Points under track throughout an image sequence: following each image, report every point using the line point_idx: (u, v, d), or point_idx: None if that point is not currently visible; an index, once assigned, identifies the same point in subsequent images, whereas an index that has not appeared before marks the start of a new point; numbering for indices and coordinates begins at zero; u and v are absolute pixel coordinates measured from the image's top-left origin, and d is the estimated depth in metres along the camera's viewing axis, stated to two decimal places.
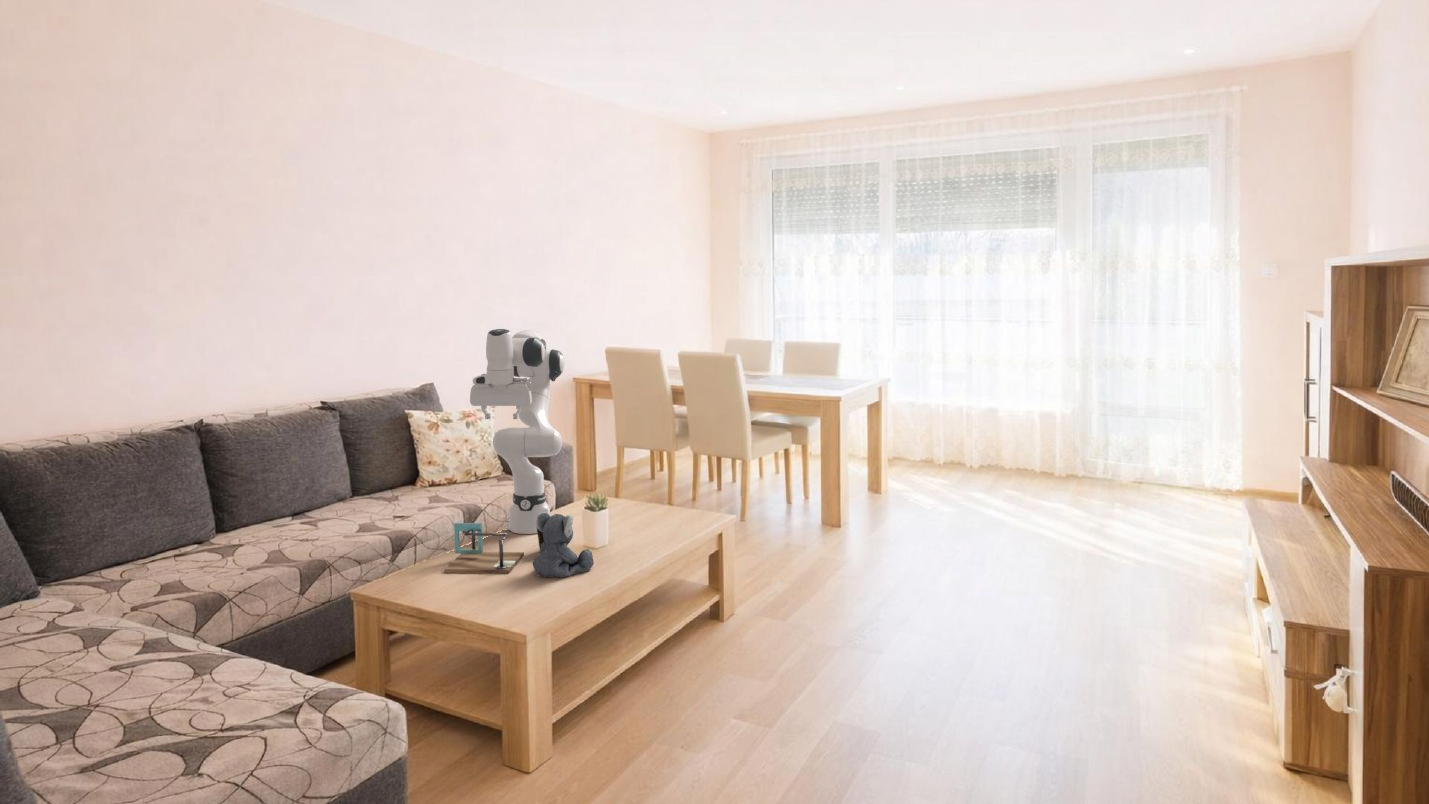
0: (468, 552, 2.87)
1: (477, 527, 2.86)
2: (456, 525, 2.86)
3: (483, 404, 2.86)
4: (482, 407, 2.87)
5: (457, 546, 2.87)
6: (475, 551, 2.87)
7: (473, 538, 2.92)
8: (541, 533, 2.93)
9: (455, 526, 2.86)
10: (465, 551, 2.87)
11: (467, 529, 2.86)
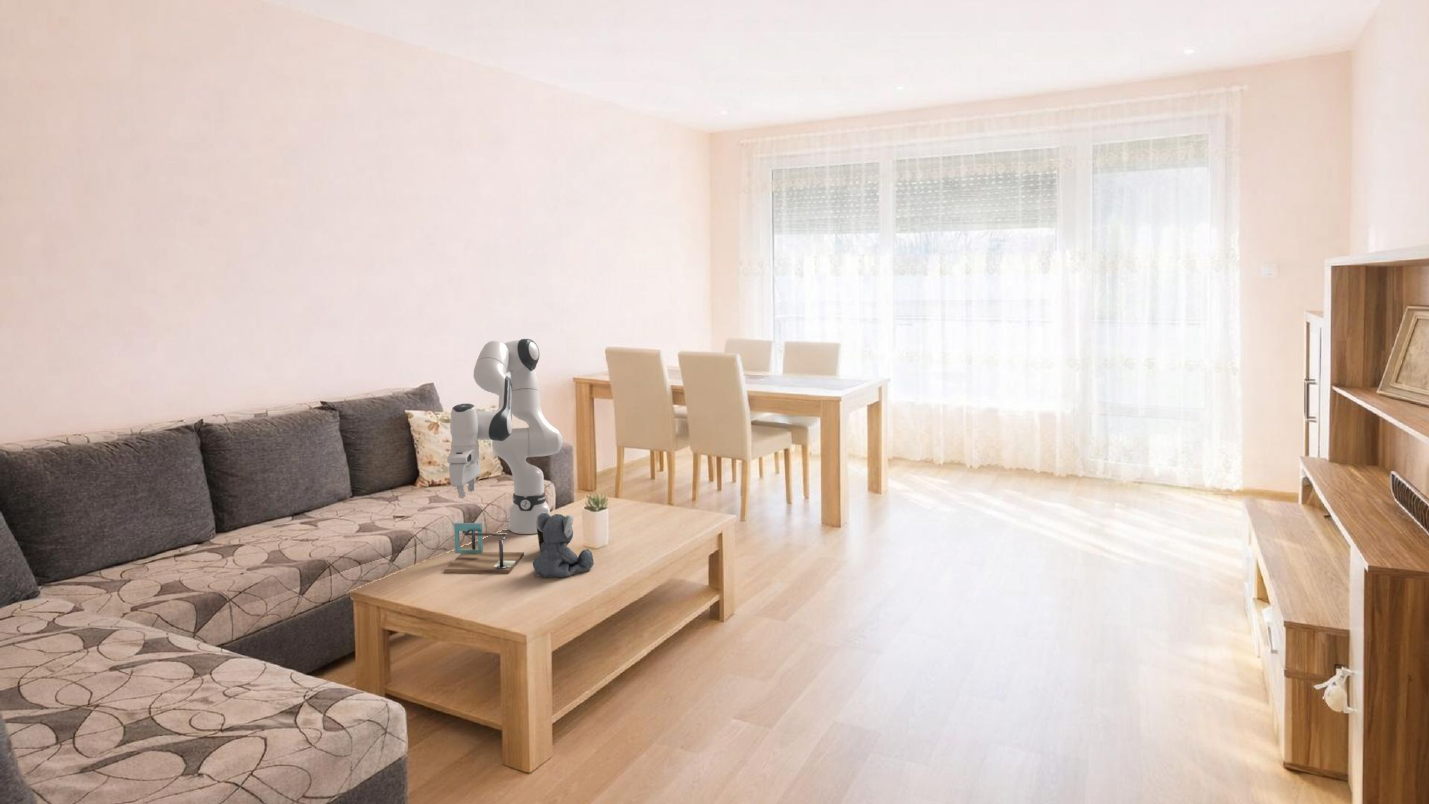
0: (468, 552, 2.87)
1: (477, 527, 2.86)
2: (456, 525, 2.86)
3: (465, 482, 2.79)
4: (463, 486, 2.79)
5: (457, 546, 2.87)
6: (475, 551, 2.87)
7: (473, 538, 2.92)
8: (541, 533, 2.93)
9: (455, 526, 2.86)
10: (465, 551, 2.87)
11: (467, 529, 2.86)
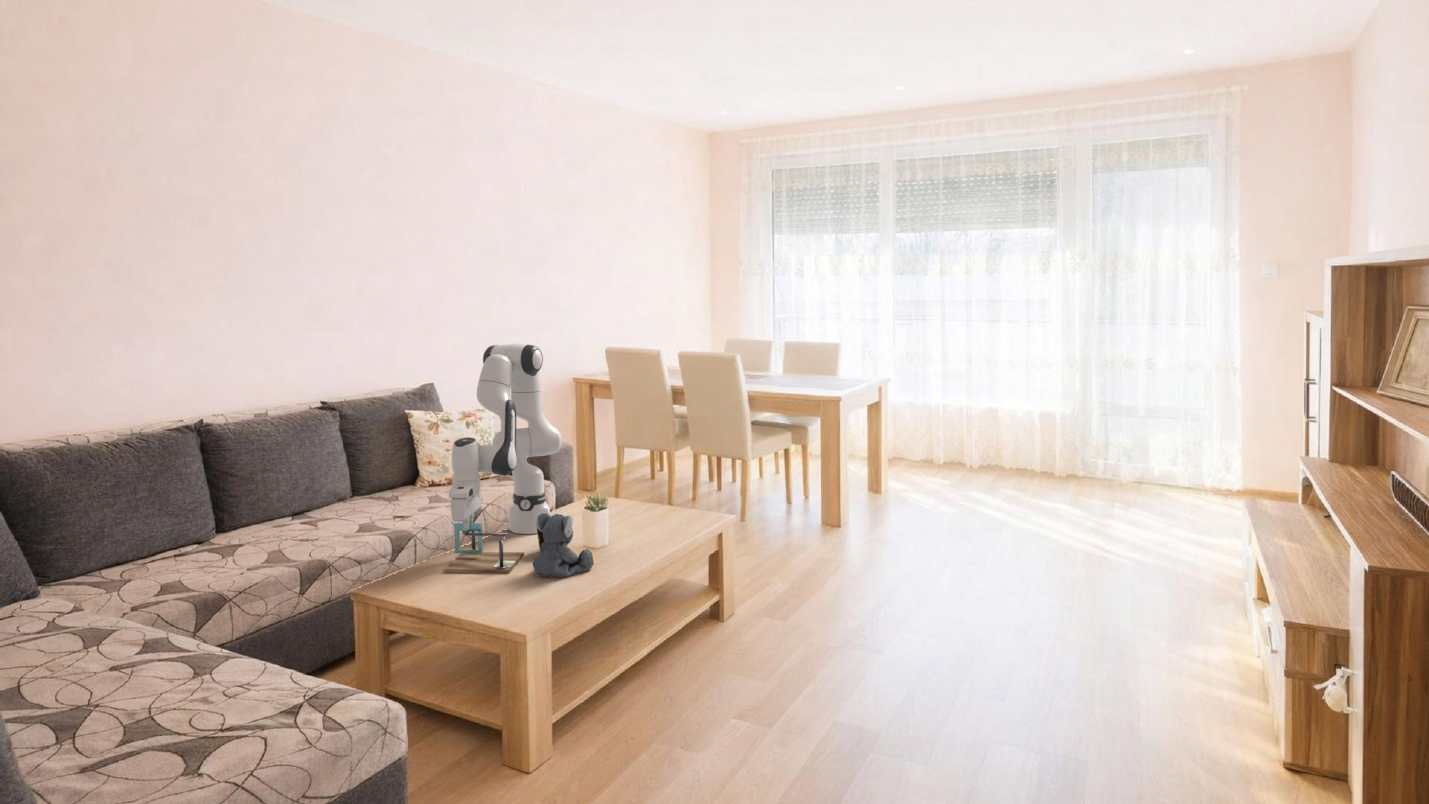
0: (468, 552, 2.87)
1: (477, 527, 2.86)
2: (456, 525, 2.86)
3: (467, 517, 2.81)
4: (468, 518, 2.84)
5: (457, 546, 2.87)
6: (475, 551, 2.87)
7: (473, 538, 2.92)
8: (541, 533, 2.93)
9: (455, 526, 2.86)
10: (465, 551, 2.87)
11: (467, 529, 2.86)
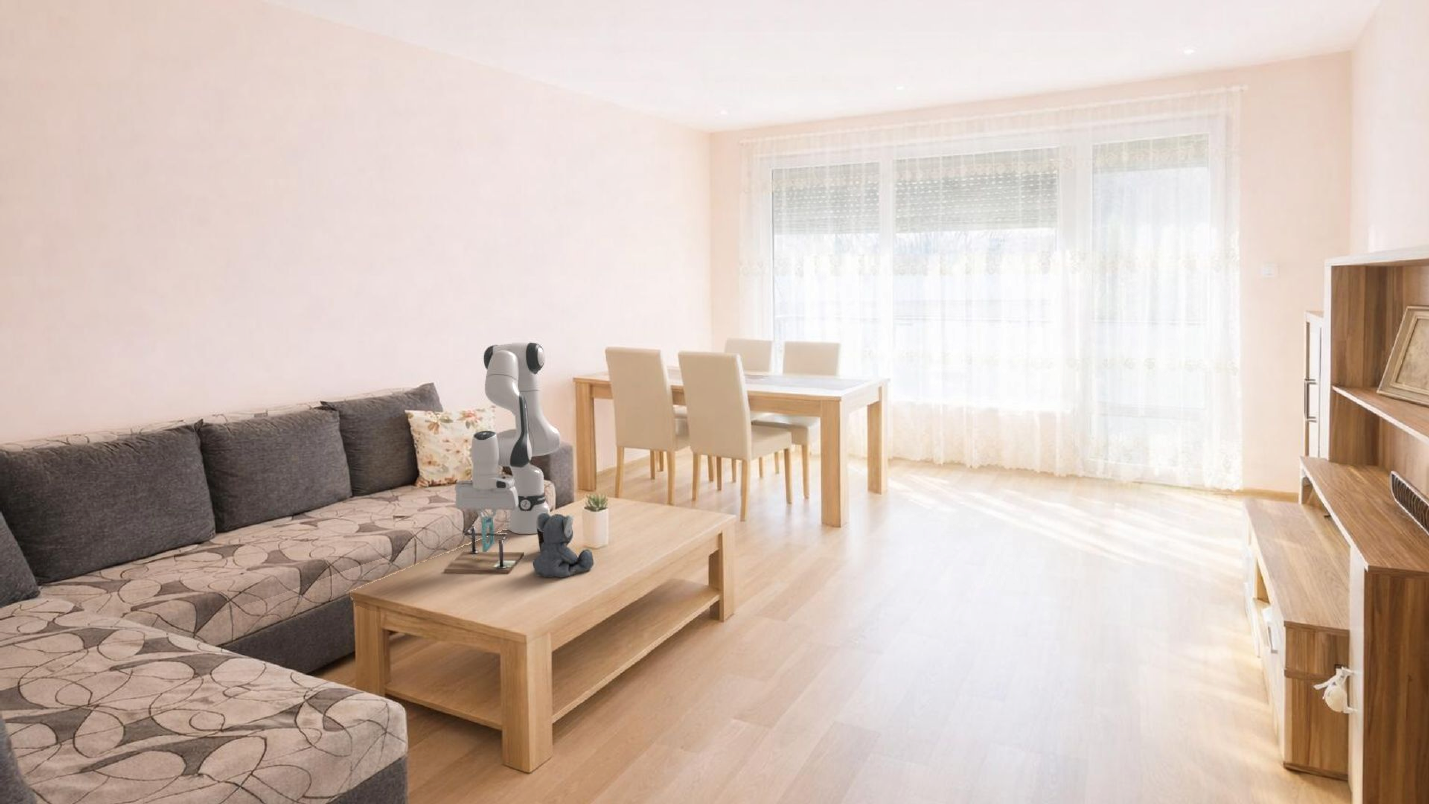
0: (490, 546, 2.84)
1: None
2: (485, 522, 2.79)
3: None
4: None
5: (486, 544, 2.80)
6: (492, 543, 2.87)
7: (473, 538, 2.92)
8: (541, 533, 2.93)
9: (485, 523, 2.79)
10: (489, 546, 2.83)
11: (489, 523, 2.83)
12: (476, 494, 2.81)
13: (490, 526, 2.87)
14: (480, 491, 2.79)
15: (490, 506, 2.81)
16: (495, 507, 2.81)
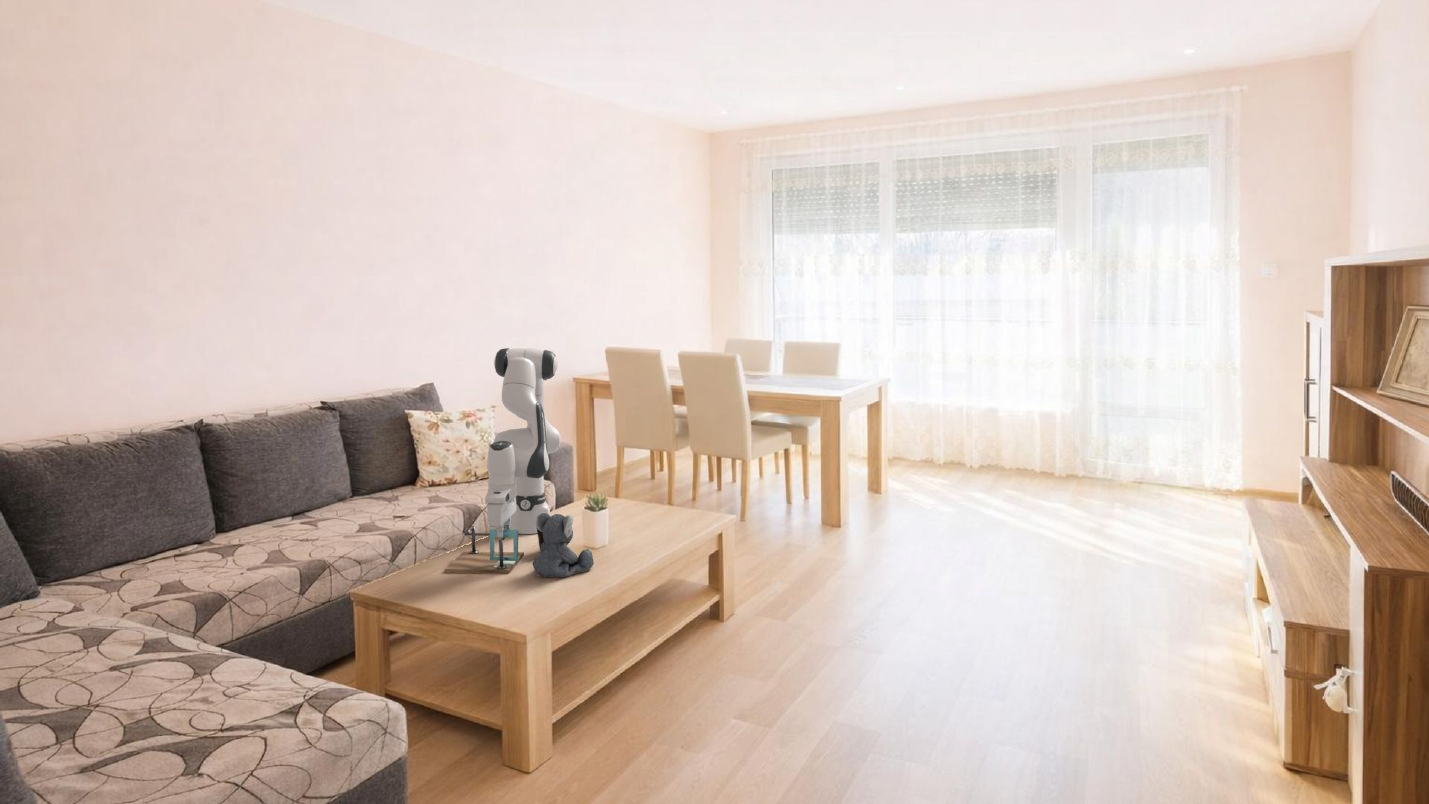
0: (503, 559, 2.80)
1: (514, 533, 2.79)
2: (491, 531, 2.79)
3: (503, 522, 2.73)
4: (502, 525, 2.74)
5: (492, 553, 2.80)
6: (510, 558, 2.80)
7: (473, 538, 2.92)
8: (541, 533, 2.93)
9: (491, 532, 2.79)
10: None
11: None
12: None
13: None
14: None
15: None
16: None
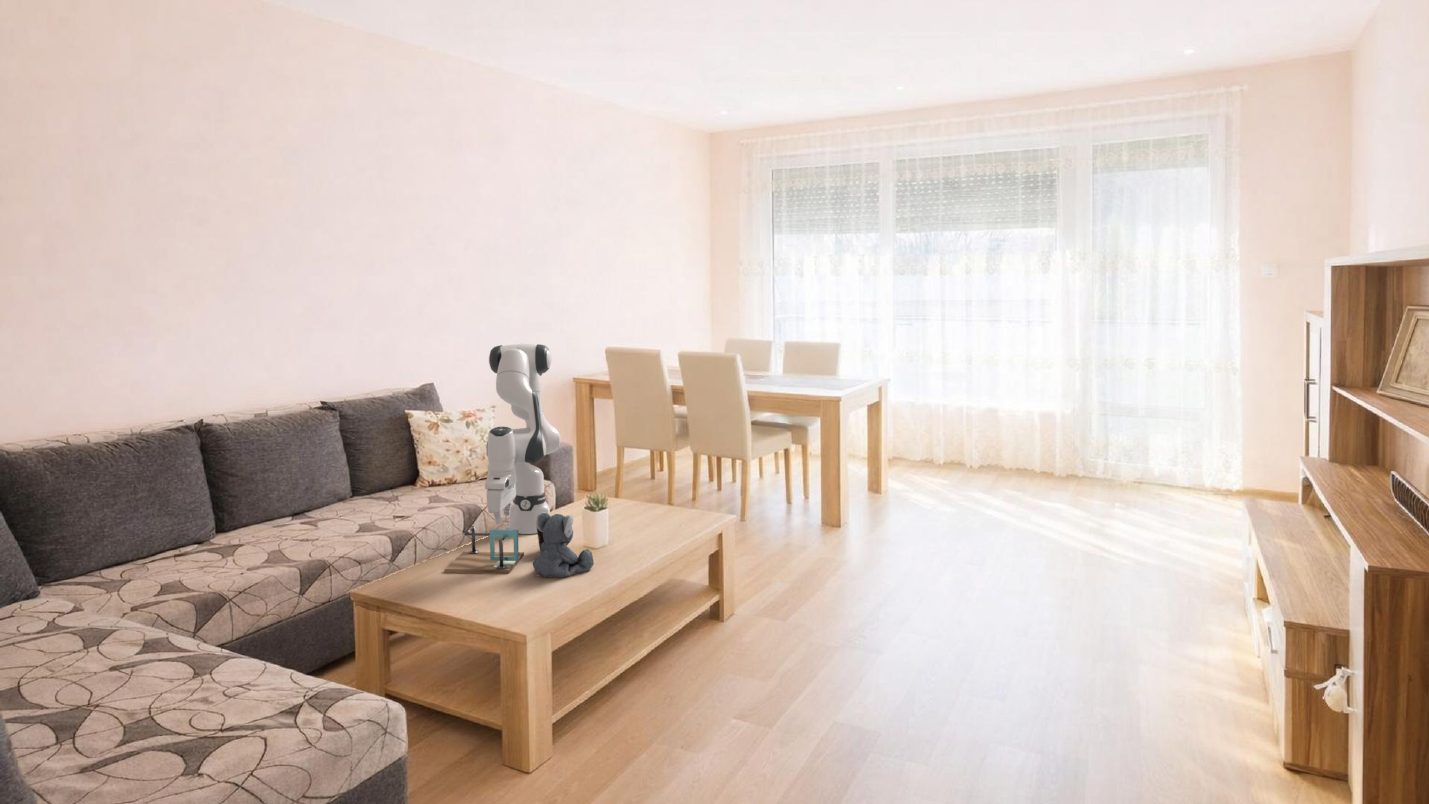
0: (503, 559, 2.80)
1: (514, 533, 2.79)
2: (491, 531, 2.79)
3: (503, 508, 2.73)
4: (500, 512, 2.72)
5: (492, 553, 2.80)
6: (511, 558, 2.80)
7: (473, 538, 2.92)
8: (541, 533, 2.93)
9: (490, 532, 2.79)
10: None
11: (503, 535, 2.79)
12: None
13: None
14: None
15: None
16: None
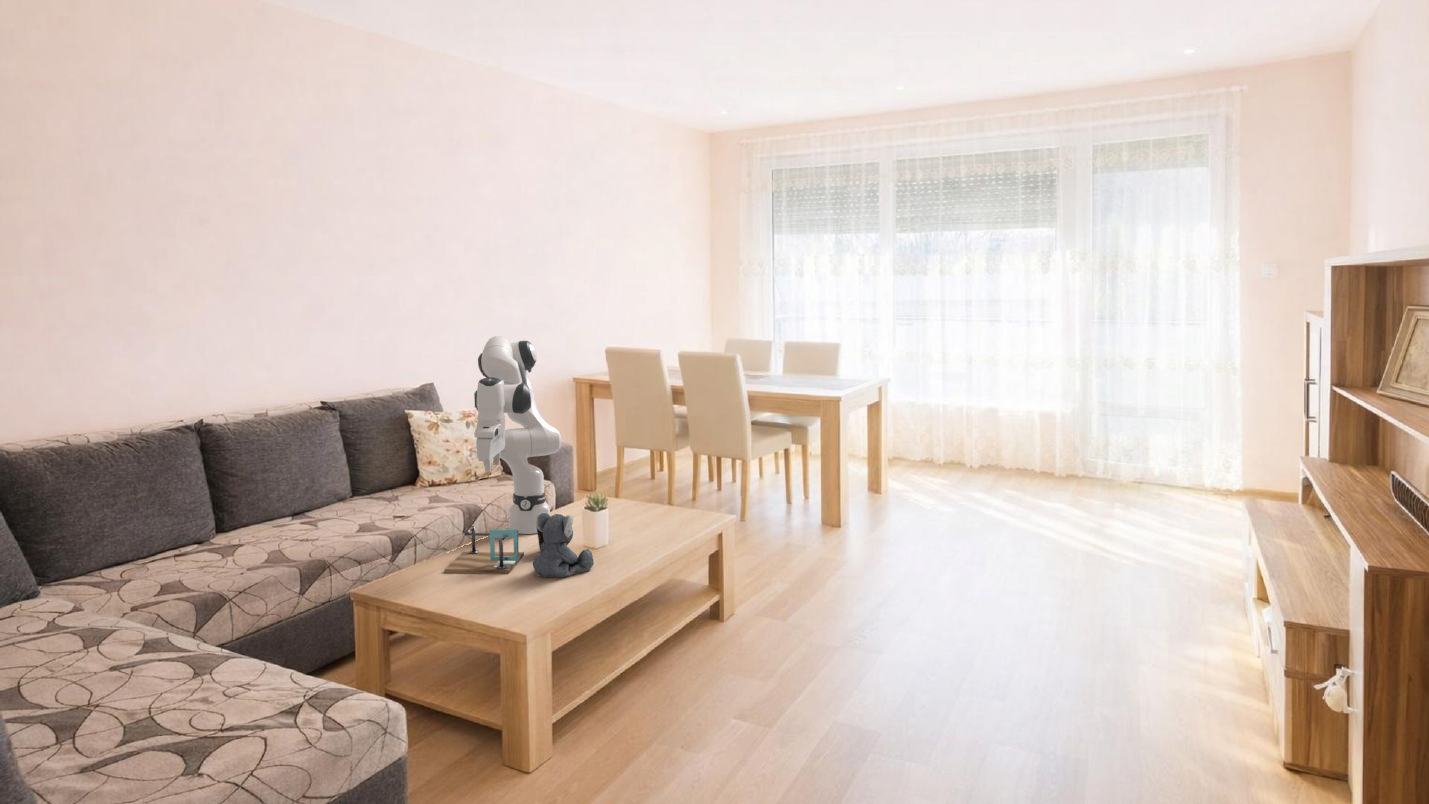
0: (504, 559, 2.80)
1: (513, 533, 2.79)
2: (491, 531, 2.79)
3: (492, 457, 2.78)
4: (490, 460, 2.77)
5: (492, 553, 2.80)
6: (511, 558, 2.80)
7: (473, 538, 2.92)
8: (541, 533, 2.93)
9: (490, 532, 2.79)
10: None
11: (503, 535, 2.79)
12: None
13: None
14: None
15: None
16: None
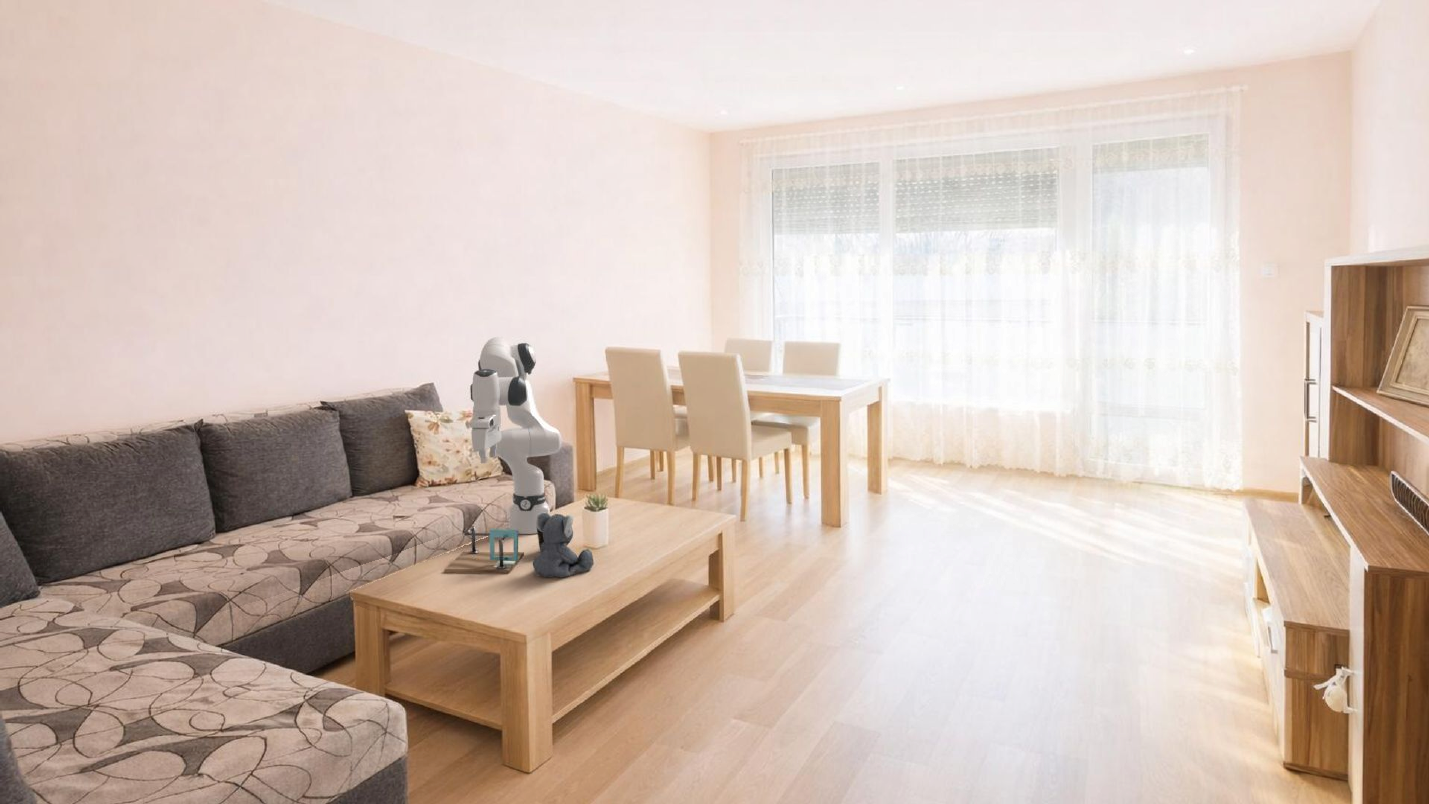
0: (503, 559, 2.80)
1: (514, 533, 2.79)
2: (491, 531, 2.79)
3: (488, 447, 2.79)
4: (485, 451, 2.79)
5: (492, 553, 2.80)
6: (510, 558, 2.80)
7: (473, 538, 2.92)
8: (541, 533, 2.93)
9: (491, 532, 2.79)
10: None
11: (503, 535, 2.79)
12: None
13: None
14: None
15: None
16: None
